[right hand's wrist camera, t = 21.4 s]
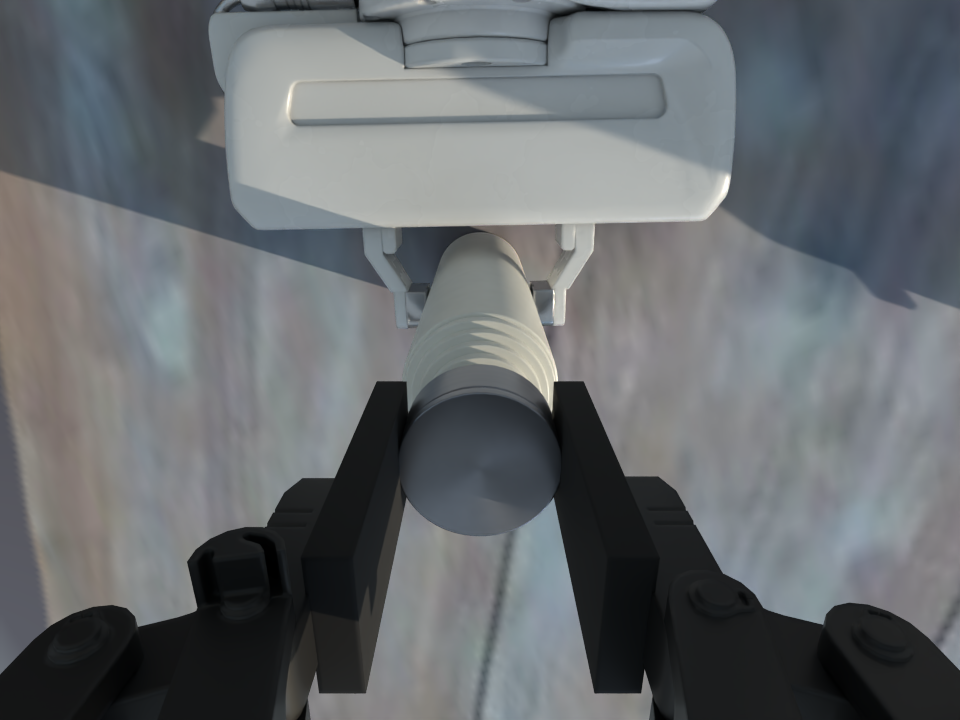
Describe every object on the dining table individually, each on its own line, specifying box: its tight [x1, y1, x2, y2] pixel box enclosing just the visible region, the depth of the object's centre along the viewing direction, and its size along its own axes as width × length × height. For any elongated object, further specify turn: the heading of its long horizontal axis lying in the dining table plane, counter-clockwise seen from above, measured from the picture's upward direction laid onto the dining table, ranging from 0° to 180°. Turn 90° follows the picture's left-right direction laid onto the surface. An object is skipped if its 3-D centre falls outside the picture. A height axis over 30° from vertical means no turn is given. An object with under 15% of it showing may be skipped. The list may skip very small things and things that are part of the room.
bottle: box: [402, 232, 558, 412], centre depth 23 cm, size 5×5×20 cm
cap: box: [399, 364, 562, 536], centre depth 14 cm, size 4×4×2 cm
